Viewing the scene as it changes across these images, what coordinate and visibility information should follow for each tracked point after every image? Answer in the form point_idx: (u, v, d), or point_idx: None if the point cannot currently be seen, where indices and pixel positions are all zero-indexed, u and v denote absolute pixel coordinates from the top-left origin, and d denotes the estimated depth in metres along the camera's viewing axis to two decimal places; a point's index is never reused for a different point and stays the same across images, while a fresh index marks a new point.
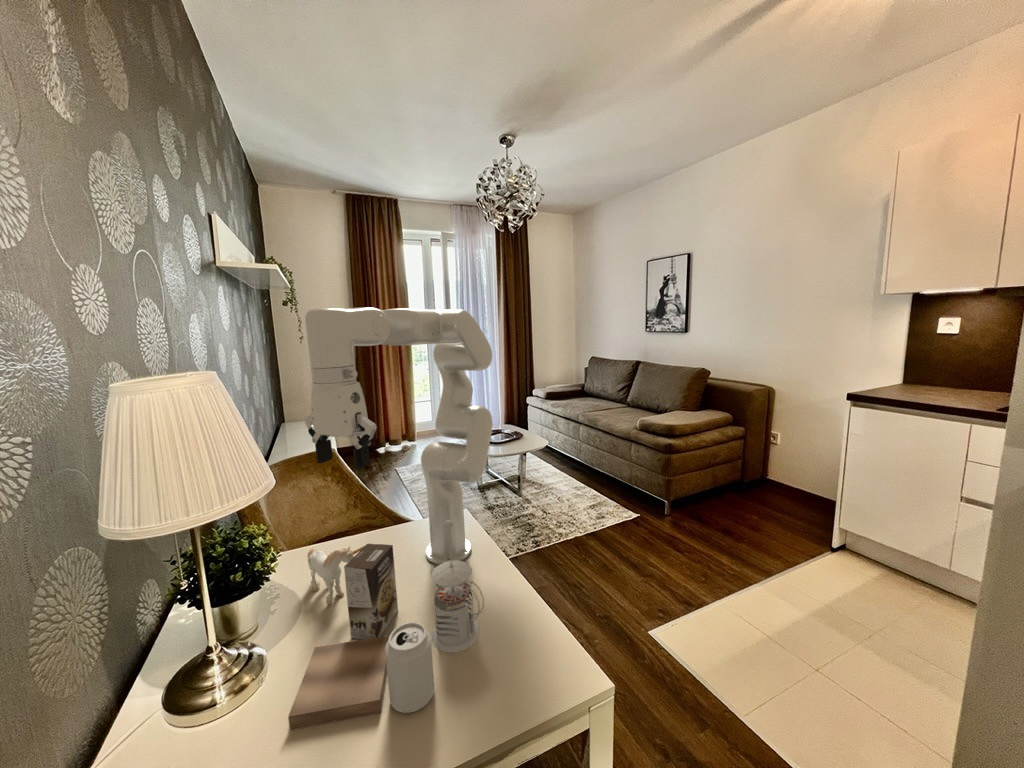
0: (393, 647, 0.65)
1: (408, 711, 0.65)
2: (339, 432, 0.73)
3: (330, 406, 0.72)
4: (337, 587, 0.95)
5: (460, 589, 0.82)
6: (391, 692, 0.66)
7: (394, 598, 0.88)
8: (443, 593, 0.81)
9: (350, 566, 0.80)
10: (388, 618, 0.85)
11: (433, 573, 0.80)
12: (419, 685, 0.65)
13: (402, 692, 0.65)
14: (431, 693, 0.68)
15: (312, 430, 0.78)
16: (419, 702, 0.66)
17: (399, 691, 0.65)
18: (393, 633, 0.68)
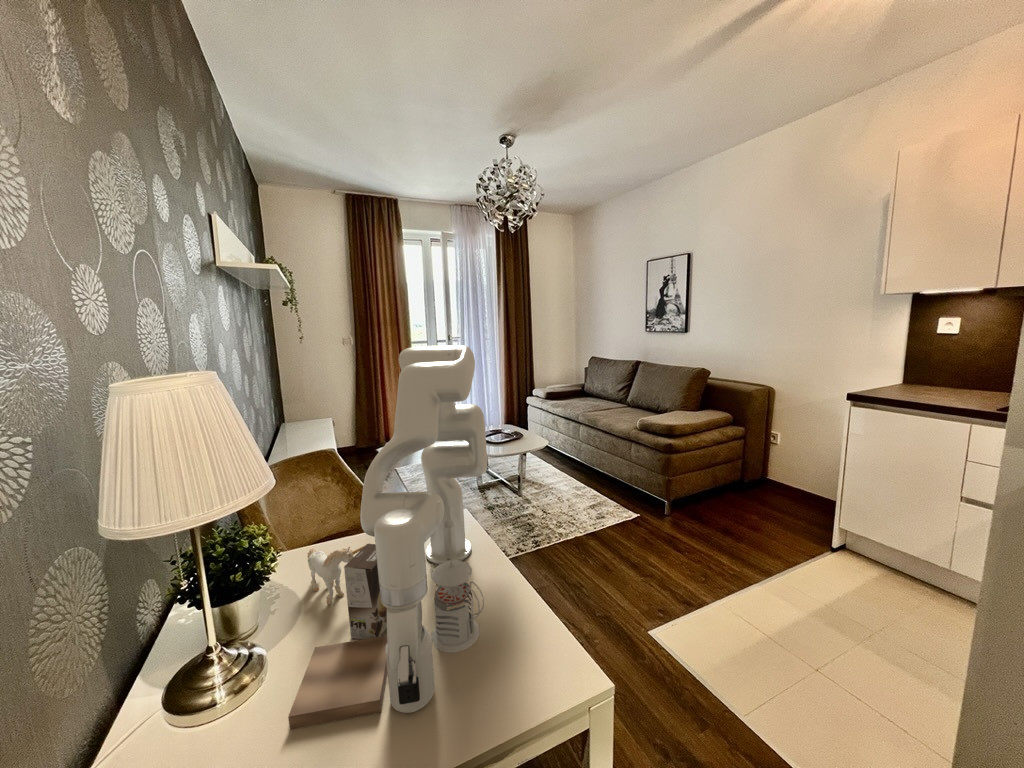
0: None
1: (408, 711, 0.65)
2: None
3: (421, 607, 0.68)
4: (337, 587, 0.95)
5: (460, 589, 0.82)
6: (391, 692, 0.66)
7: None
8: (443, 593, 0.81)
9: (350, 566, 0.80)
10: None
11: (433, 573, 0.80)
12: (419, 685, 0.65)
13: None
14: (431, 693, 0.68)
15: None
16: (419, 702, 0.66)
17: None
18: None
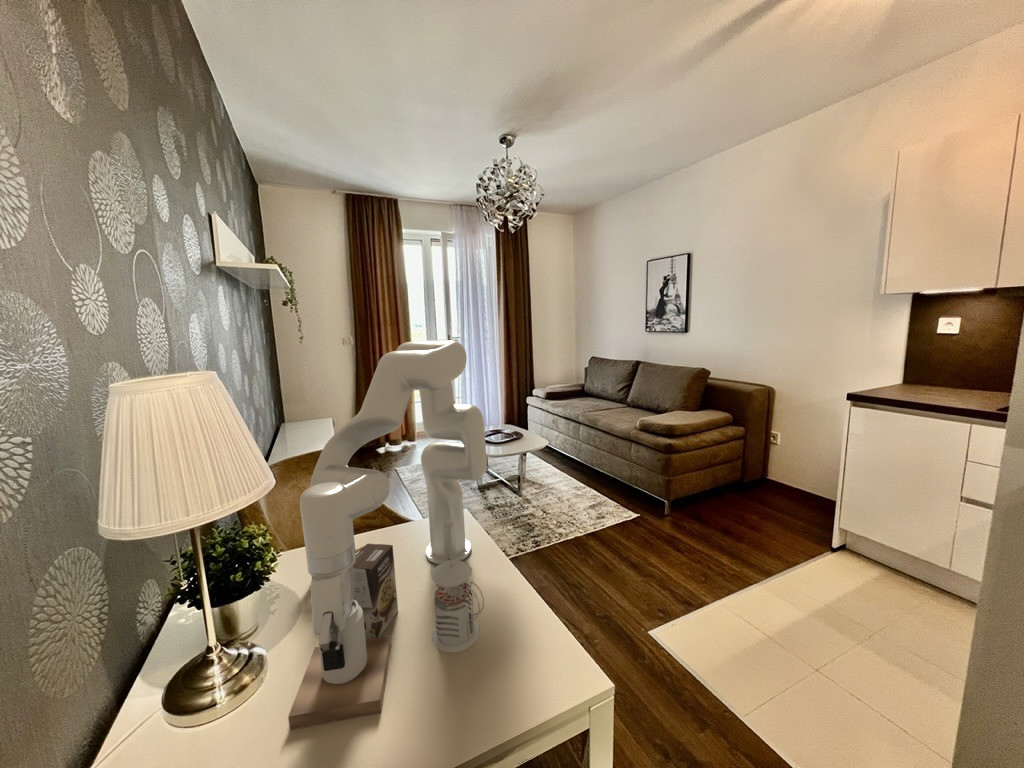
0: None
1: (337, 682, 0.68)
2: (353, 598, 0.72)
3: (351, 577, 0.70)
4: None
5: (460, 589, 0.82)
6: (322, 664, 0.69)
7: (394, 598, 0.88)
8: (443, 593, 0.81)
9: None
10: (388, 618, 0.85)
11: (433, 573, 0.80)
12: (348, 657, 0.68)
13: None
14: (362, 666, 0.70)
15: (332, 641, 0.64)
16: (348, 674, 0.68)
17: None
18: None
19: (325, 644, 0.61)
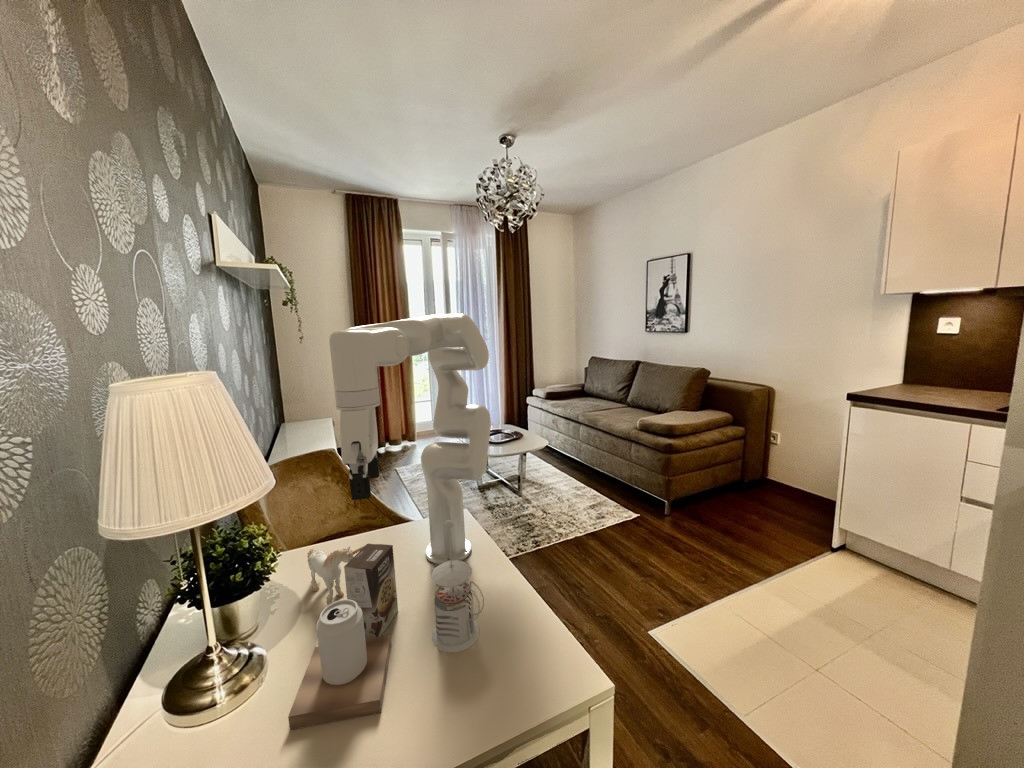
0: (322, 621, 0.68)
1: (337, 683, 0.68)
2: (376, 446, 0.77)
3: (375, 423, 0.75)
4: (337, 587, 0.95)
5: (460, 589, 0.82)
6: (321, 665, 0.69)
7: (394, 598, 0.88)
8: (443, 593, 0.81)
9: (350, 566, 0.80)
10: (388, 618, 0.85)
11: (433, 573, 0.80)
12: (347, 659, 0.68)
13: (331, 664, 0.67)
14: (362, 667, 0.70)
15: None
16: (348, 675, 0.68)
17: (328, 664, 0.67)
18: (326, 609, 0.71)
19: (354, 464, 0.66)
